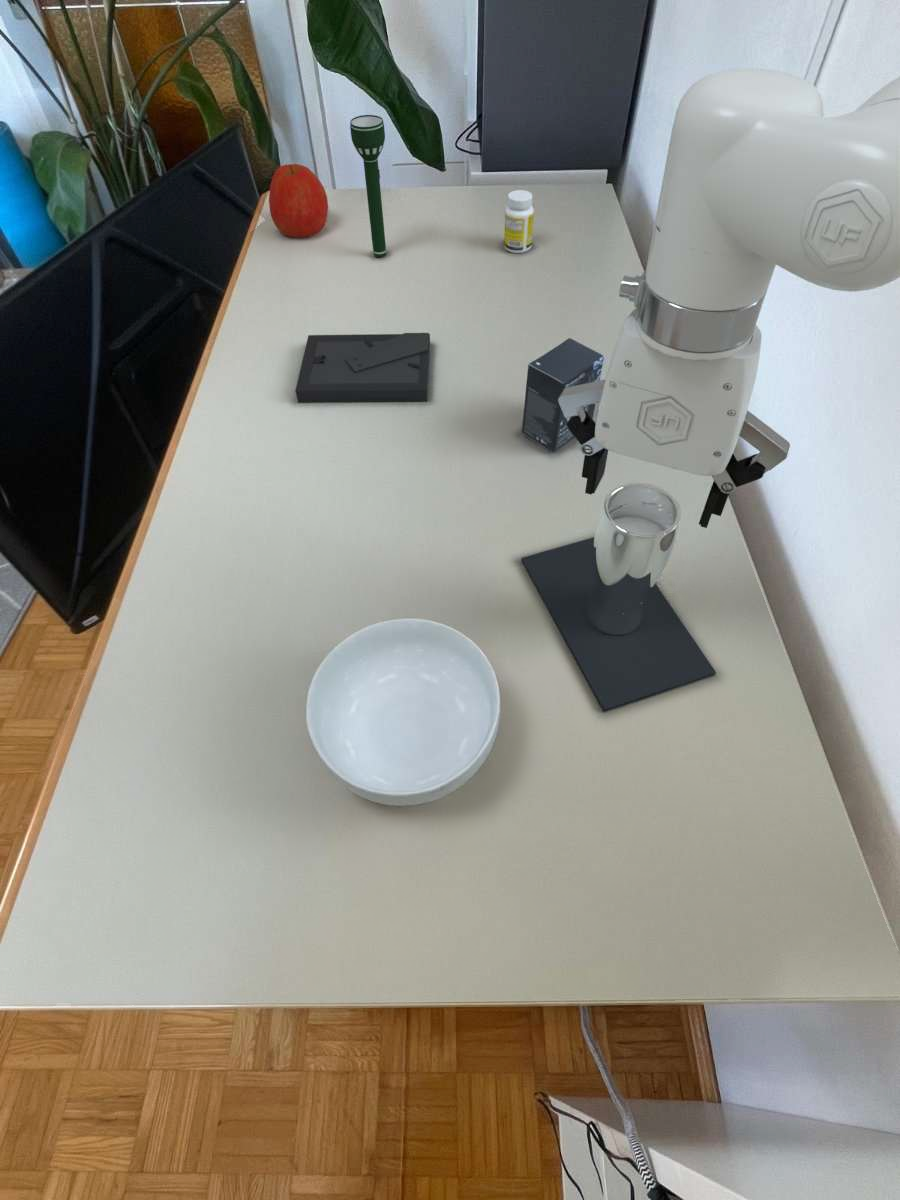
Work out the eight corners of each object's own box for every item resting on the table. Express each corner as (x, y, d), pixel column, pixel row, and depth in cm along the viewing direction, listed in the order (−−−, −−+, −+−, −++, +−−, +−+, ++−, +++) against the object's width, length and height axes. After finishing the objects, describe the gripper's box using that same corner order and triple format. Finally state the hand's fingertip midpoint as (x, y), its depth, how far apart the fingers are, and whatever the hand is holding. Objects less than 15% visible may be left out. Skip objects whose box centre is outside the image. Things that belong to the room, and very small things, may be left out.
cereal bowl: (322, 664, 69) (309, 623, 64) (487, 652, 70) (489, 610, 64) (314, 833, 59) (298, 802, 54) (508, 817, 60) (513, 785, 54)
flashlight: (401, 254, 120) (390, 119, 104) (380, 265, 117) (366, 130, 101) (379, 245, 122) (366, 112, 106) (359, 256, 119) (342, 122, 103)
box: (554, 455, 88) (563, 383, 79) (520, 434, 90) (526, 362, 82) (593, 426, 91) (606, 354, 82) (559, 407, 93) (569, 335, 85)
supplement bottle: (523, 238, 122) (526, 186, 115) (536, 250, 119) (540, 197, 113) (499, 244, 121) (500, 192, 114) (511, 256, 118) (513, 203, 112)
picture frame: (430, 345, 103) (310, 346, 103) (429, 331, 101) (307, 332, 101) (427, 401, 95) (297, 402, 95) (426, 387, 93) (294, 388, 93)
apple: (332, 215, 129) (323, 151, 121) (329, 241, 123) (319, 177, 115) (277, 217, 129) (264, 154, 121) (271, 244, 123) (257, 179, 114)
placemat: (714, 675, 68) (716, 672, 67) (603, 712, 66) (604, 709, 65) (618, 533, 79) (619, 529, 79) (521, 561, 77) (521, 557, 77)
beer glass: (565, 613, 72) (585, 511, 60) (605, 574, 75) (631, 469, 63) (622, 651, 69) (654, 551, 57) (660, 609, 72) (699, 506, 60)
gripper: (552, 310, 46) (537, 499, 59) (830, 369, 41) (744, 561, 54) (589, 259, 50) (567, 447, 63) (846, 306, 45) (763, 500, 58)
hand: (649, 499), depth 59 cm, fingers open, 9 cm apart
